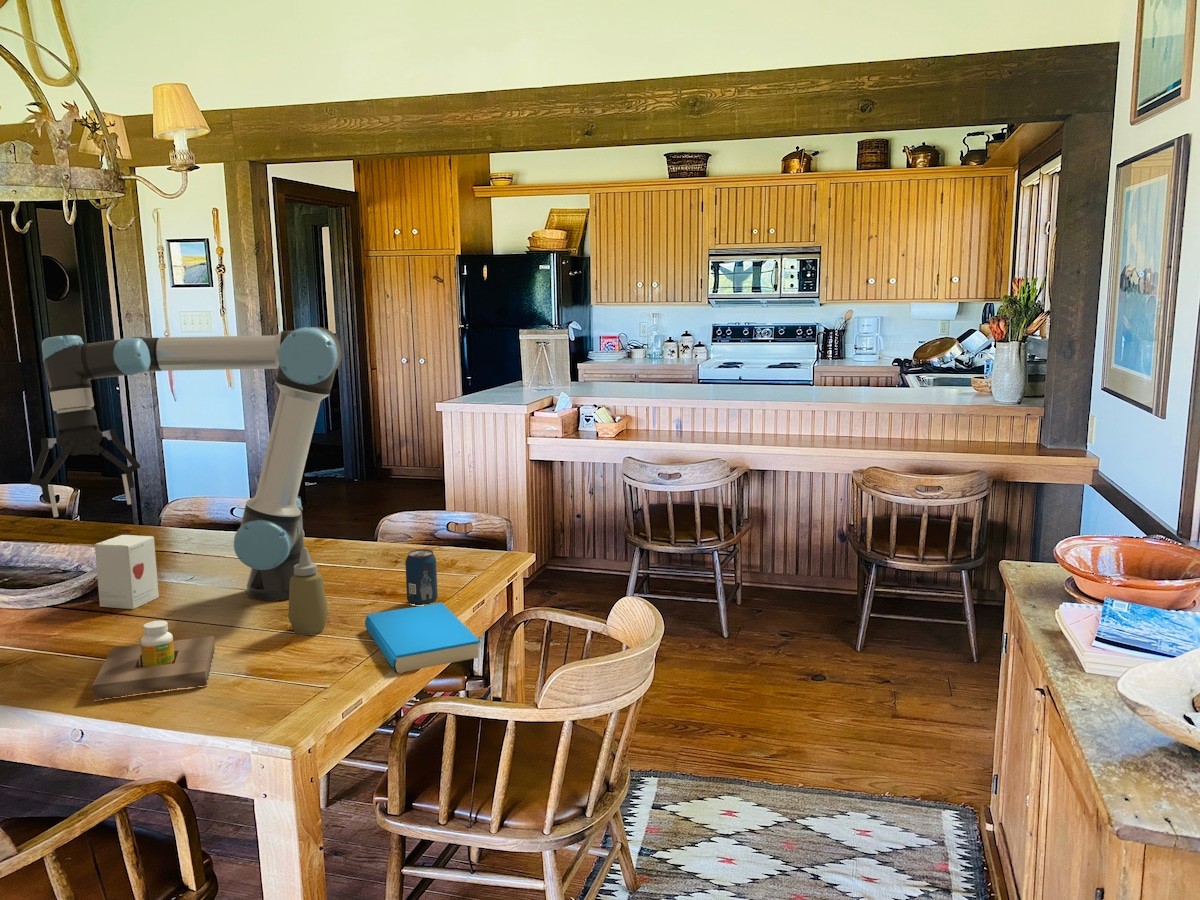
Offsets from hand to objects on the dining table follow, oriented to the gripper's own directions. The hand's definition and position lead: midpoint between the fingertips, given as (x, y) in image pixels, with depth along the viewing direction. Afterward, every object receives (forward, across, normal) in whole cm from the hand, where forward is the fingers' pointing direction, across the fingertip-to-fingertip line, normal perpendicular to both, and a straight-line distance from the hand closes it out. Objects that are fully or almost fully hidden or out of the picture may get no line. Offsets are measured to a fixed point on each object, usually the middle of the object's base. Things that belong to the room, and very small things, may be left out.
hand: (93, 510), depth 187 cm
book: (+36, -53, +41) cm, 76 cm away
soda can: (+33, -62, +17) cm, 72 cm away
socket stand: (+30, -6, +31) cm, 44 cm away
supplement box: (+24, -4, -17) cm, 29 cm away
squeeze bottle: (+32, -35, +22) cm, 52 cm away
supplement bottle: (+30, -6, +31) cm, 44 cm away
